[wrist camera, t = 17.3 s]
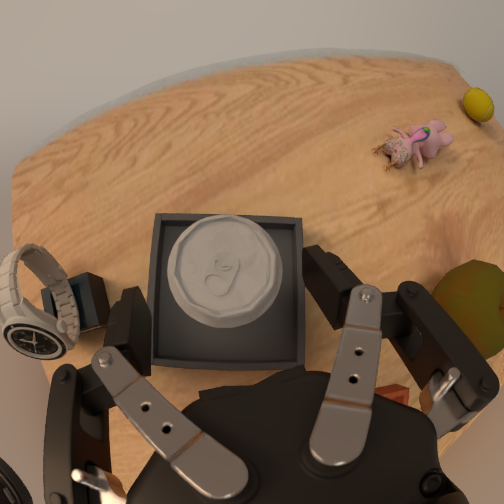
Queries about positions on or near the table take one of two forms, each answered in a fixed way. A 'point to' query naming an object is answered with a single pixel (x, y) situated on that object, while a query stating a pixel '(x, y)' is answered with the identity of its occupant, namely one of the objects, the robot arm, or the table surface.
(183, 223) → the grey tray
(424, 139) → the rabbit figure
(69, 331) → the watch
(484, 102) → the tennis ball
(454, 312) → the apple
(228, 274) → the beer can
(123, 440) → the table surface
